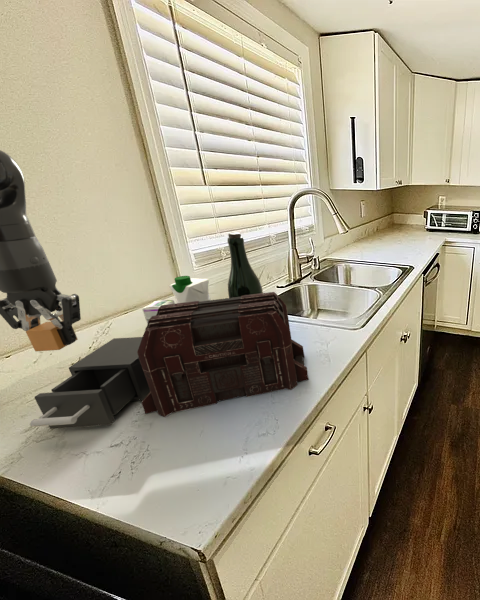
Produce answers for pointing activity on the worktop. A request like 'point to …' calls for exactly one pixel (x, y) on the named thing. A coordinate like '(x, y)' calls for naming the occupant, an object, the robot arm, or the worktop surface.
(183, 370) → the crate
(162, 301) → the syrup box
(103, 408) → the drawer
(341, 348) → the worktop surface
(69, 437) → the worktop surface
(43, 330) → the orange block
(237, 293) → the beer bottle
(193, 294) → the milk carton
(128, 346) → the dark grey box shell
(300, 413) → the worktop surface
